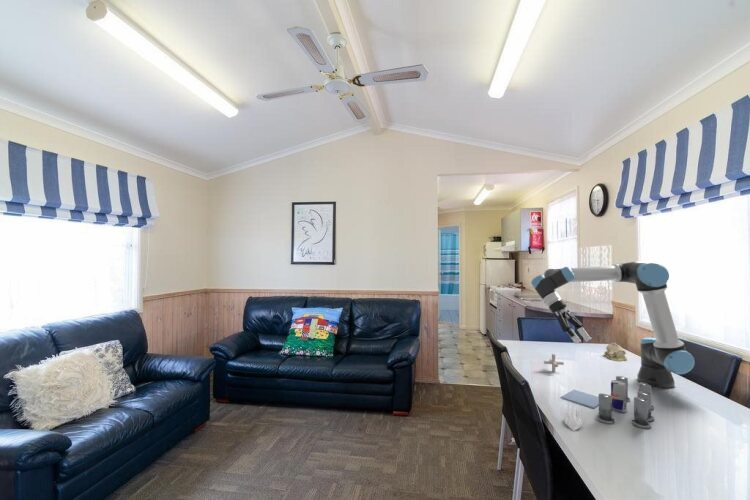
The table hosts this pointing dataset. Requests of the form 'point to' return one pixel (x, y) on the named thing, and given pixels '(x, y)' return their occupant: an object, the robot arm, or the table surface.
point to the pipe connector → (553, 363)
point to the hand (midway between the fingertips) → (583, 341)
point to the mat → (582, 398)
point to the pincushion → (572, 421)
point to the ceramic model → (615, 352)
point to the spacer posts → (640, 402)
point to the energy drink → (618, 396)
